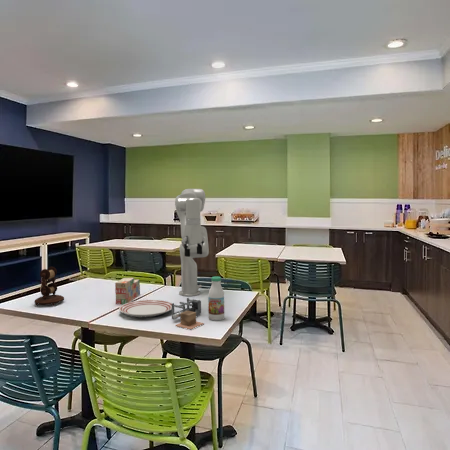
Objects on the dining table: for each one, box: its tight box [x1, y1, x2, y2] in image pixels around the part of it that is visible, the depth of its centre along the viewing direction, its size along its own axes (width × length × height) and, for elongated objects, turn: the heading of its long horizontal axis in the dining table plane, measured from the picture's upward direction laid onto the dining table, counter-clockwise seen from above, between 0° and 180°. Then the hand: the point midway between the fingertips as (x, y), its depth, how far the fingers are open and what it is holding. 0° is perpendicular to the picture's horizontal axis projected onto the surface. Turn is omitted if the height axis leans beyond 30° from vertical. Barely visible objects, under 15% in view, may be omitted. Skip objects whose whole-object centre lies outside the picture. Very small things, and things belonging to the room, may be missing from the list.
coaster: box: [175, 320, 205, 330], centre depth 163 cm, size 9×9×1 cm
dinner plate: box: [118, 299, 173, 318], centre depth 183 cm, size 27×27×3 cm
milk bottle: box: [207, 276, 225, 321], centre depth 172 cm, size 8×8×20 cm
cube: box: [179, 311, 197, 326], centre depth 163 cm, size 5×5×5 cm
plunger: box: [171, 299, 202, 320], centre depth 174 cm, size 18×5×6 cm, turn 145°
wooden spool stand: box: [34, 266, 65, 307], centre depth 198 cm, size 15×15×20 cm
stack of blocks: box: [114, 277, 141, 305], centre depth 206 cm, size 21×6×12 cm, turn 173°
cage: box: [171, 297, 201, 317], centre depth 174 cm, size 12×8×8 cm, turn 145°
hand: (193, 255), depth 185 cm, fingers open, 9 cm apart
